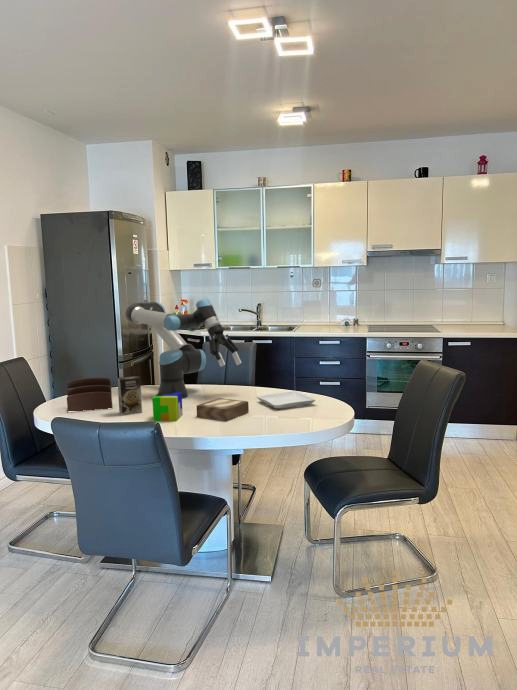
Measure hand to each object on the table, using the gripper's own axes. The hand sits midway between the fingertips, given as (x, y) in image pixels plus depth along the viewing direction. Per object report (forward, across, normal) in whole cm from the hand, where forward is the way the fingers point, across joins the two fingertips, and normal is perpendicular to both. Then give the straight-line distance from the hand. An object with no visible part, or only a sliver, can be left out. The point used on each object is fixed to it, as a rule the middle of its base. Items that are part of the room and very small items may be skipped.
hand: (231, 364), depth 249 cm
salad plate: (+30, +4, -16) cm, 34 cm away
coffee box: (+5, -41, +33) cm, 53 cm away
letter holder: (-7, -44, +54) cm, 70 cm away
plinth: (+24, -26, -2) cm, 35 cm away
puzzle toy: (+16, -40, +14) cm, 46 cm away
